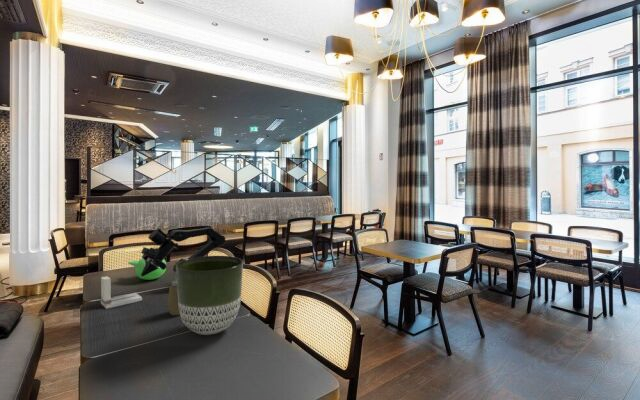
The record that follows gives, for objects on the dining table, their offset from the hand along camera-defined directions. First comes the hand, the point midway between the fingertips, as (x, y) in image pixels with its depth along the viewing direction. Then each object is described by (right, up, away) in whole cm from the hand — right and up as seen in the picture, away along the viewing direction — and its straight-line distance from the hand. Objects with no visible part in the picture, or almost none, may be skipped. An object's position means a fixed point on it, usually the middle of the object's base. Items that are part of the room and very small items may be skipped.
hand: (141, 275), depth 160 cm
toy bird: (-12, -9, +31) cm, 35 cm away
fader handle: (-10, -10, -11) cm, 18 cm away
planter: (+46, -14, -34) cm, 59 cm away
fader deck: (-6, -11, -6) cm, 14 cm away
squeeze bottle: (+26, -13, -18) cm, 34 cm away
